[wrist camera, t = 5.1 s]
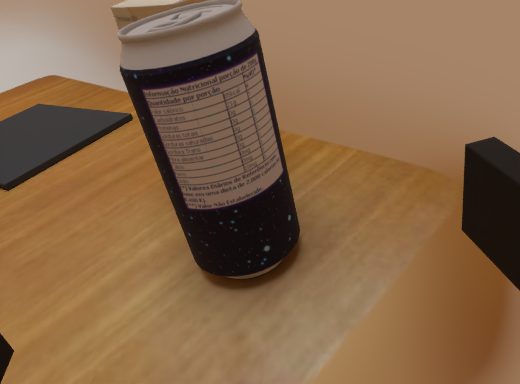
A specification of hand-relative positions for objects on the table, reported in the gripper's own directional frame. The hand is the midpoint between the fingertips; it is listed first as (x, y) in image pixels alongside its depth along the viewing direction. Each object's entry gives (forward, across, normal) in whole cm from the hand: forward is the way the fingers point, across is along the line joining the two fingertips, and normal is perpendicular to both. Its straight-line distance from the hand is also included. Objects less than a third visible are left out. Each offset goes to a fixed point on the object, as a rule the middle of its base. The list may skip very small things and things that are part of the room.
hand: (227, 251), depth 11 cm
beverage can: (+9, 0, -8) cm, 12 cm away
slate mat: (+37, -21, -7) cm, 44 cm away
